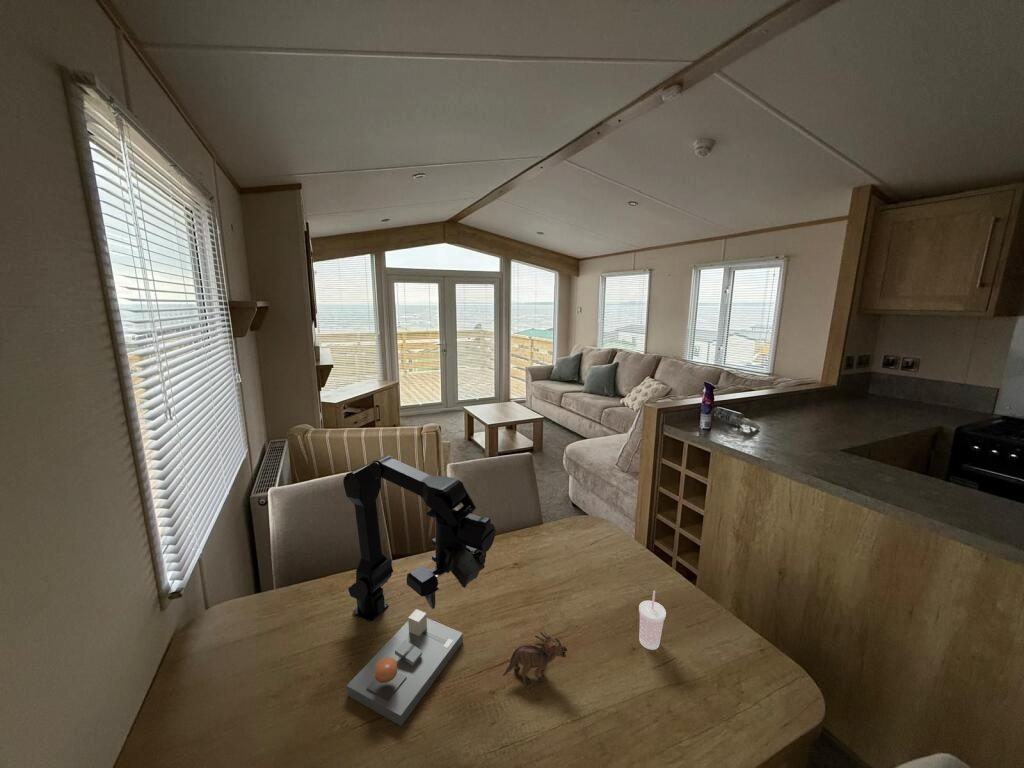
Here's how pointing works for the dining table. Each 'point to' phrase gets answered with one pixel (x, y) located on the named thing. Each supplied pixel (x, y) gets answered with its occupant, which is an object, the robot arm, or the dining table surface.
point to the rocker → (408, 652)
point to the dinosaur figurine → (536, 656)
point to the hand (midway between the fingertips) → (448, 596)
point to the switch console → (406, 671)
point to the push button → (385, 670)
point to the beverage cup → (651, 623)
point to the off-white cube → (417, 622)
